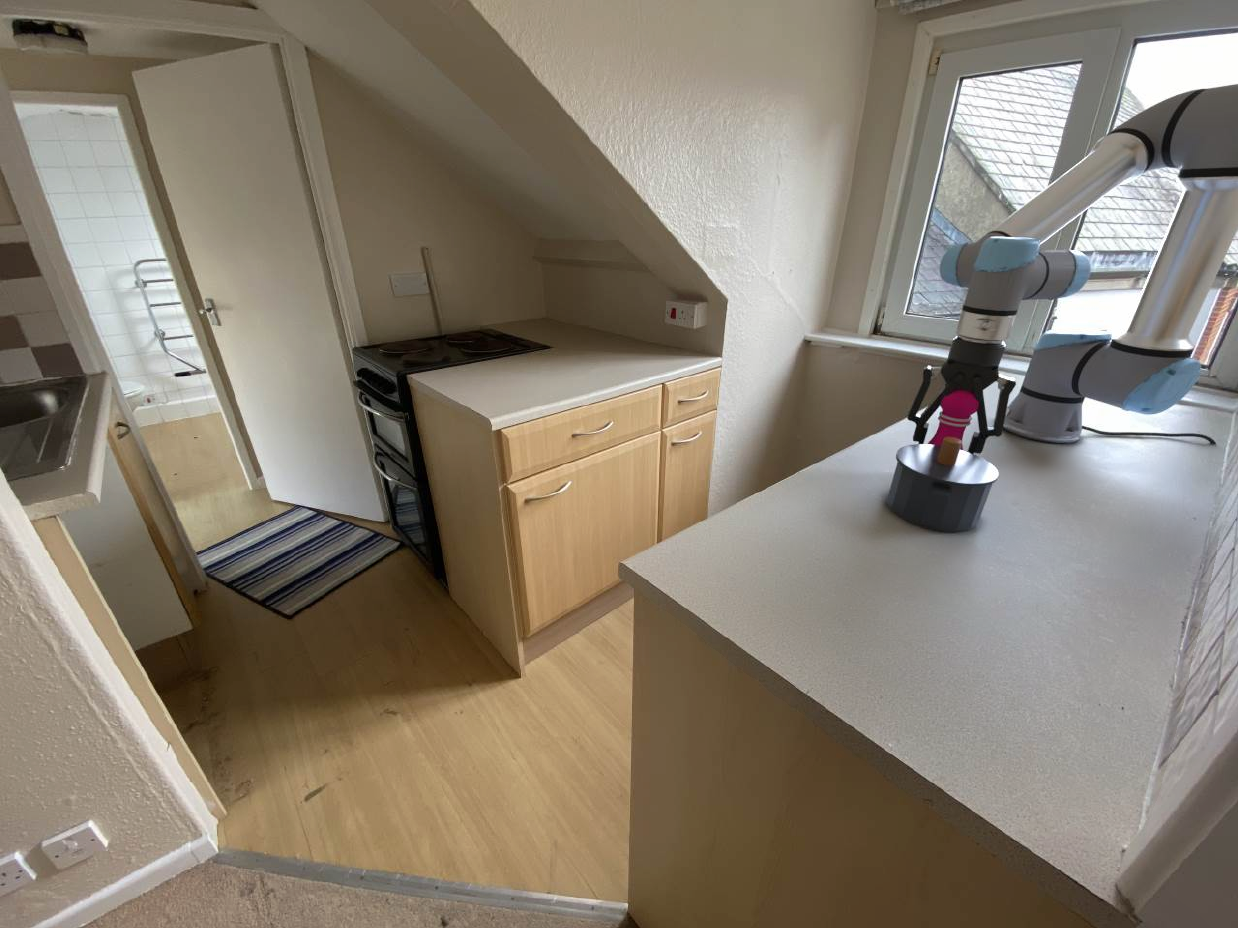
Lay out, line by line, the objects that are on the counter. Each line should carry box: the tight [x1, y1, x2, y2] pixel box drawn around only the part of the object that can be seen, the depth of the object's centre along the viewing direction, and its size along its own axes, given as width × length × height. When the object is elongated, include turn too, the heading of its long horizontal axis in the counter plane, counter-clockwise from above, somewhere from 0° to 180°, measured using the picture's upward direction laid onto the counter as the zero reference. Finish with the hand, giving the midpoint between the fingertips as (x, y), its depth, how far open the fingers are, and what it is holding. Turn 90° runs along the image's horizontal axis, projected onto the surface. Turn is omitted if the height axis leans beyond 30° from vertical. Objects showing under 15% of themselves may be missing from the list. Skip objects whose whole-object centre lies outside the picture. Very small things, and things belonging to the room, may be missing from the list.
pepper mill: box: [926, 390, 979, 451], centre depth 95 cm, size 7×7×20 cm
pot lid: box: [895, 437, 1000, 487], centre depth 85 cm, size 15×15×5 cm
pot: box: [886, 461, 993, 533], centre depth 88 cm, size 14×19×8 cm
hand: (940, 462), depth 98 cm, fingers closed on pepper mill, 7 cm apart
